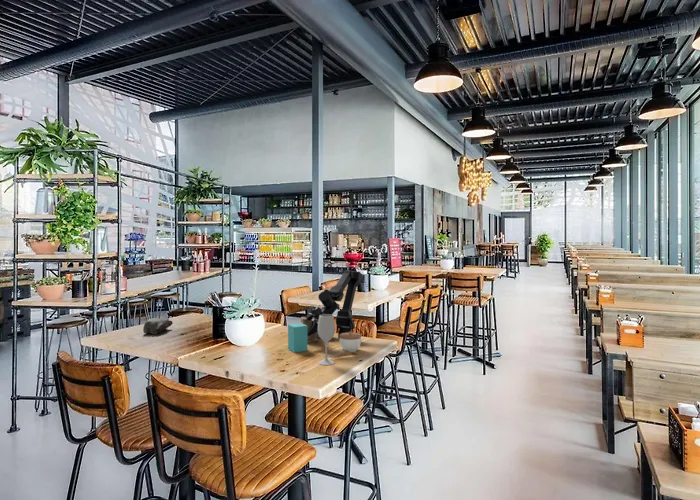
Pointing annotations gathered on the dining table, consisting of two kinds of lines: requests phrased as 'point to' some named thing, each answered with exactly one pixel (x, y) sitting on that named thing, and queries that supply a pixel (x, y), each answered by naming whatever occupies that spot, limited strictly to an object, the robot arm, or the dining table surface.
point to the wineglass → (326, 333)
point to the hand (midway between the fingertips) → (307, 335)
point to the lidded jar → (350, 341)
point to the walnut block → (306, 322)
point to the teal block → (297, 337)
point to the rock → (156, 325)
